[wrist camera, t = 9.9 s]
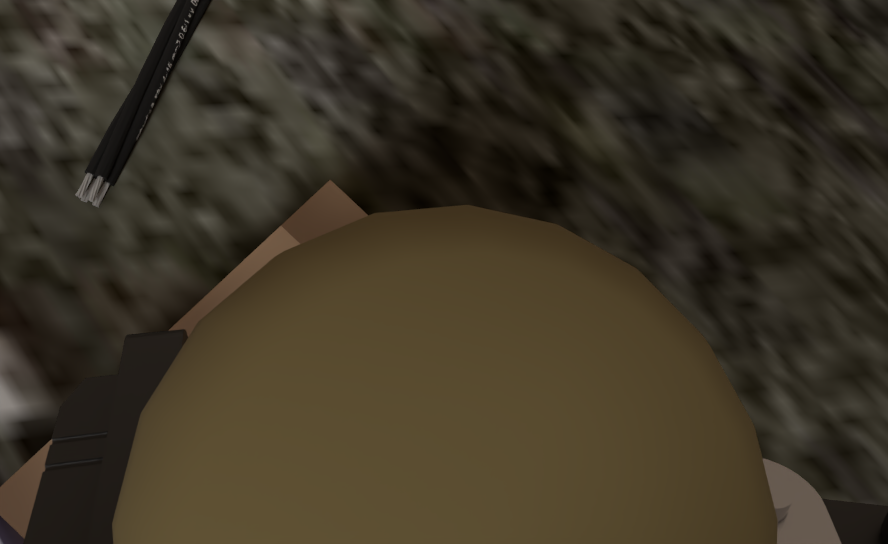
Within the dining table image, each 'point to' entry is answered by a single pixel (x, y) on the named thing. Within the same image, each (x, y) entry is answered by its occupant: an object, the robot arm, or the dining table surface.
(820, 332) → the dining table surface
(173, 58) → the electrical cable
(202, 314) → the wooden box
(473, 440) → the cork
